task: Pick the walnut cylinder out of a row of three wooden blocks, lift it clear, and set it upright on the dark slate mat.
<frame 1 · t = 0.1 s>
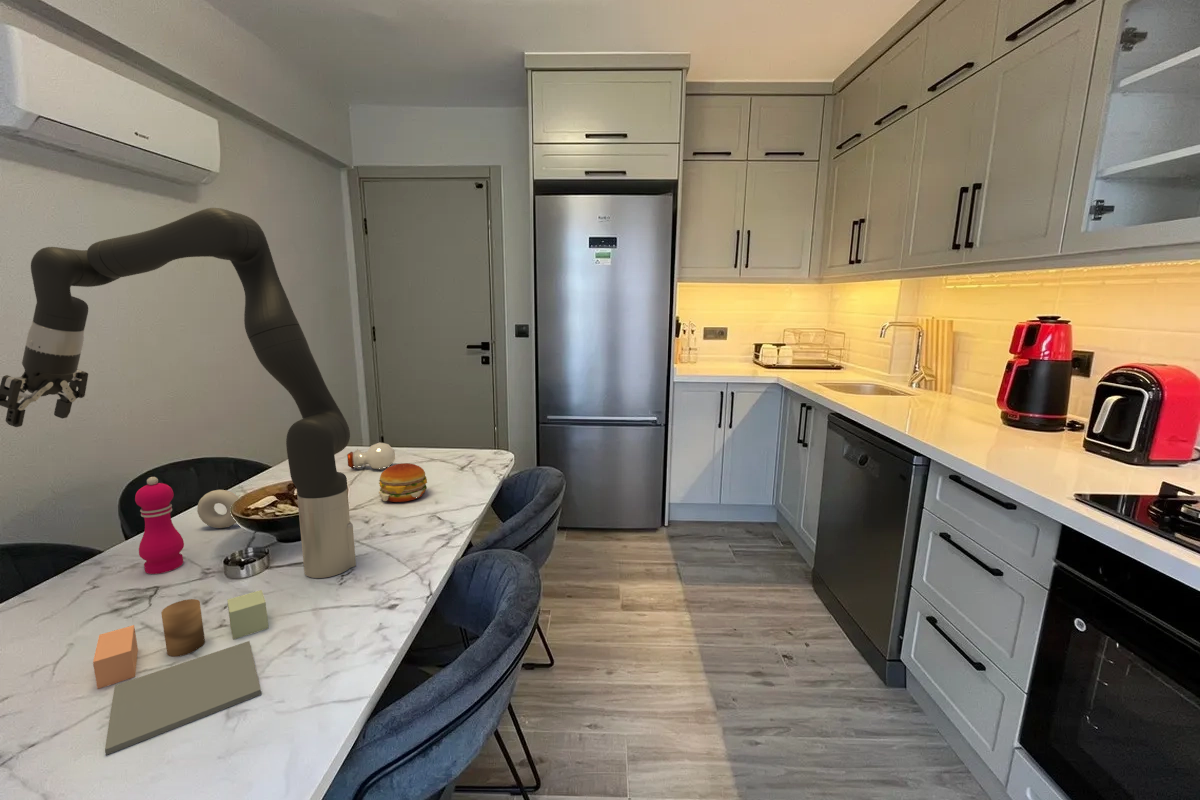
hand: (38, 421, 103), 31 cm above the table, tool tilted 20°, fingers open, 8 cm apart
donut: (222, 528, 127), on the table
pepper mill: (164, 567, 107), on the table
potion bottle: (372, 469, 176), on the table
terracotta brick: (119, 669, 77), on the table
burger: (403, 497, 150), on the table
slate mat: (188, 692, 72), on the table
walnut cylinder: (186, 646, 82), on the table
sage cube: (249, 627, 87), on the table
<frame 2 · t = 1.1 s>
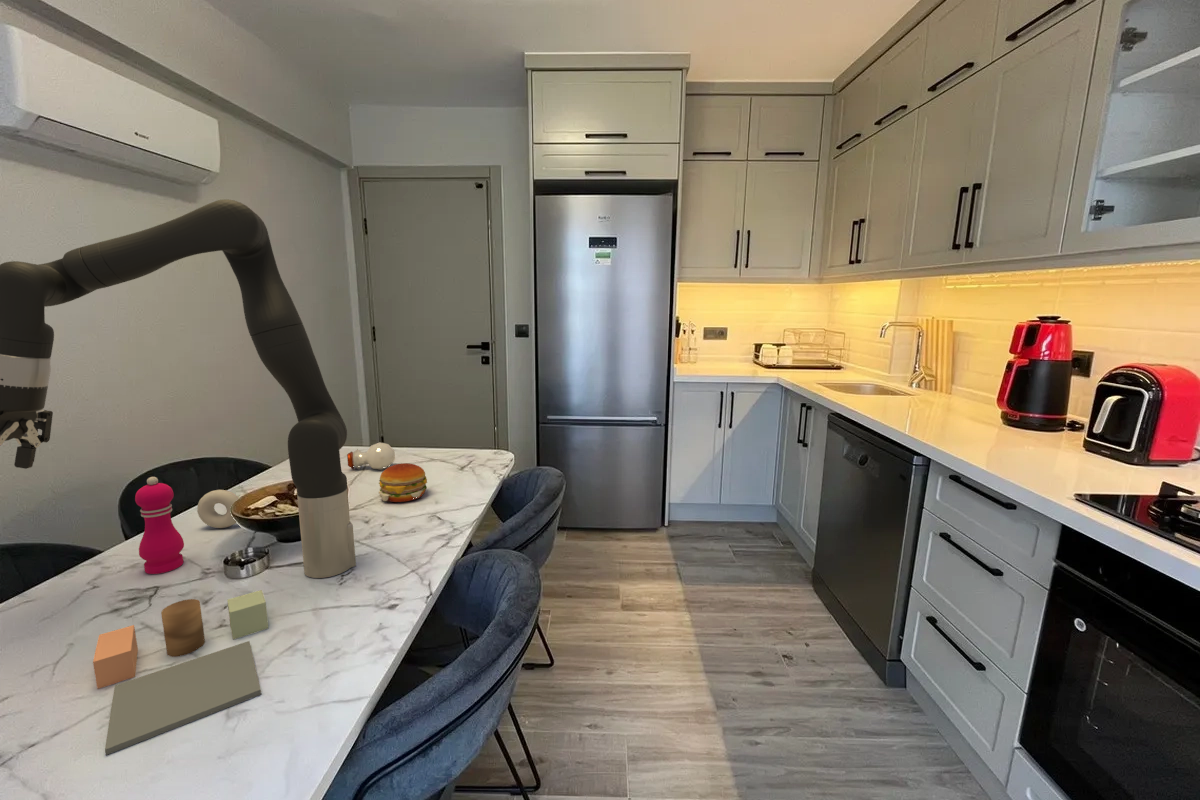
hand: (0, 473, 86), 26 cm above the table, tool pointing down, fingers open, 8 cm apart
nothing on the table moved.
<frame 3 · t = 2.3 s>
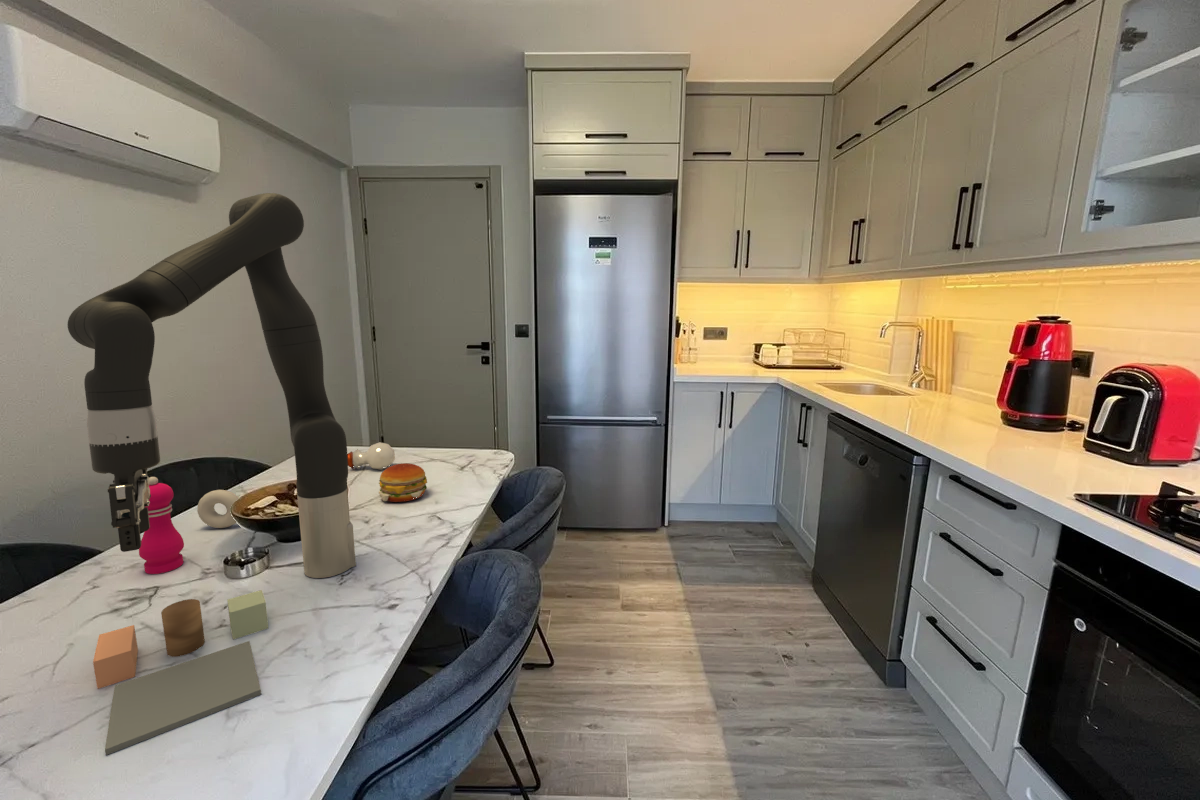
hand: (136, 540, 78), 19 cm above the table, tool pointing down, fingers open, 8 cm apart
nothing on the table moved.
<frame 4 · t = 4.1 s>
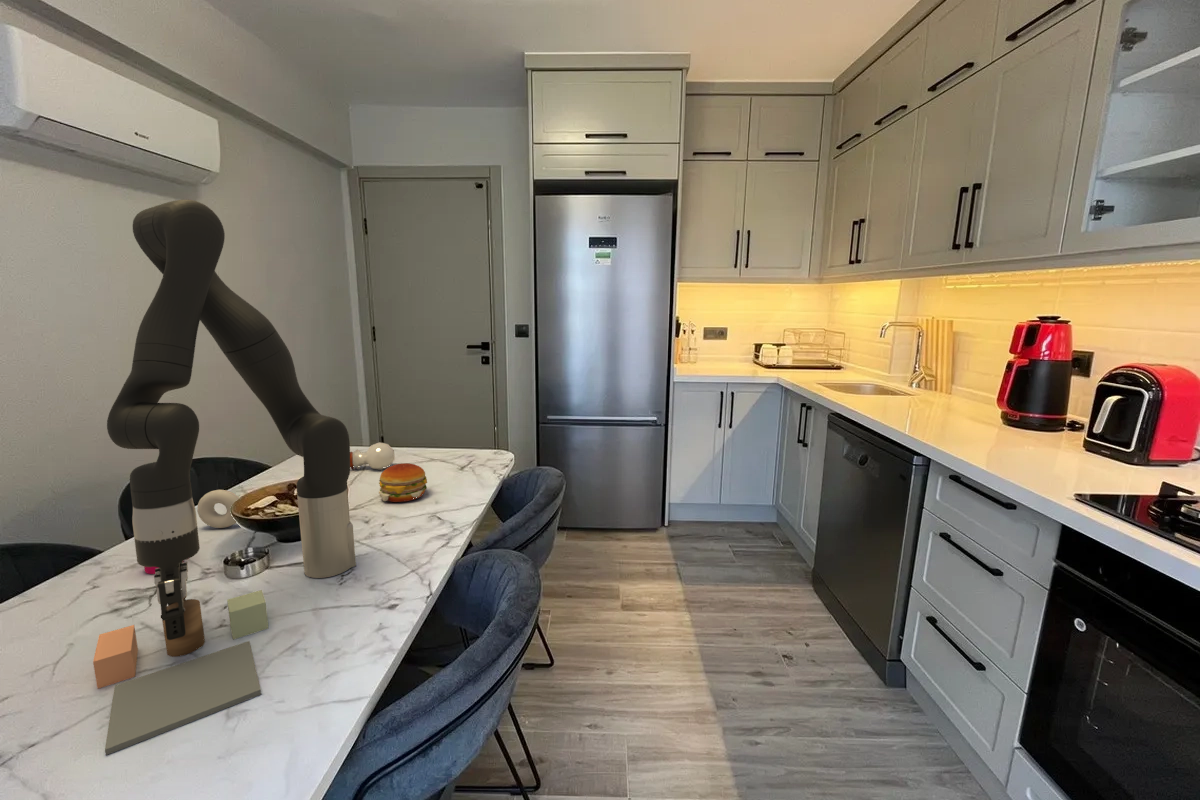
hand: (177, 624, 81), 4 cm above the table, tool pointing down, fingers open, 8 cm apart
nothing on the table moved.
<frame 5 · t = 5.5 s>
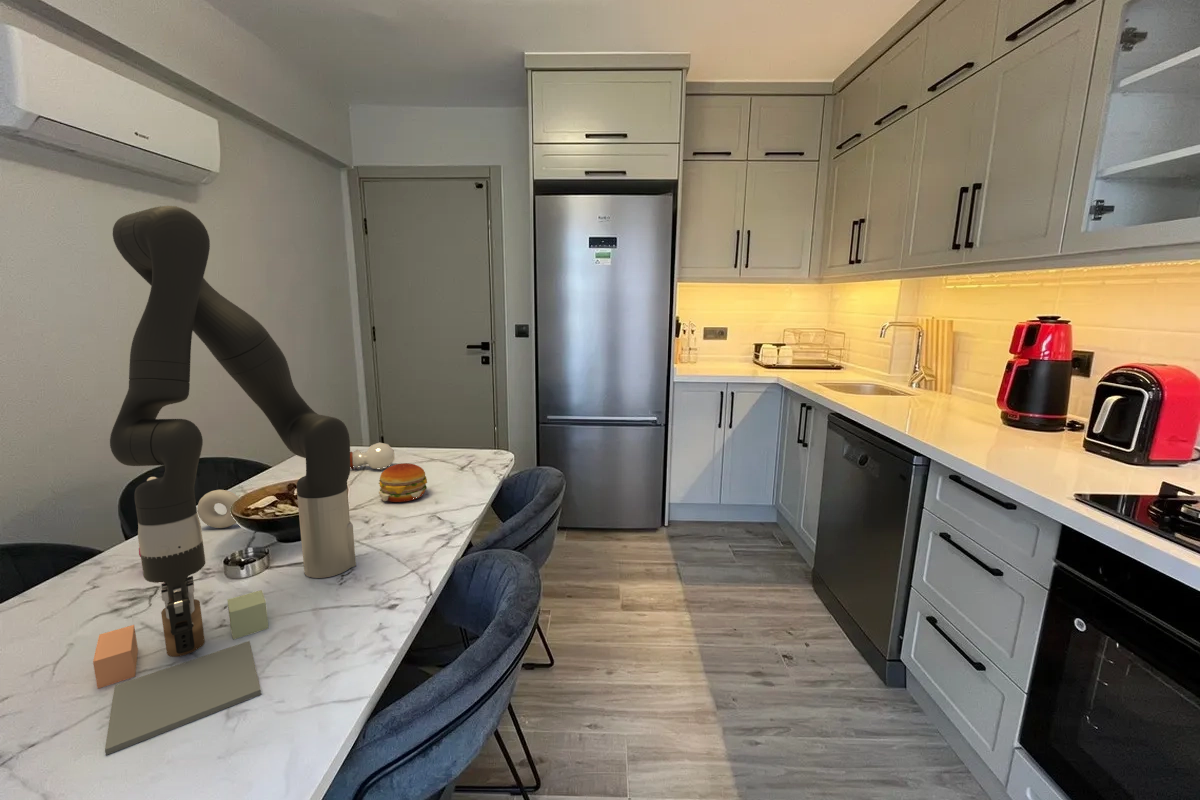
hand: (185, 641, 82), 1 cm above the table, tool pointing down, fingers closed on walnut cylinder, 4 cm apart
walnut cylinder: (186, 646, 82), on the table, touching gripper
everything else where it was.
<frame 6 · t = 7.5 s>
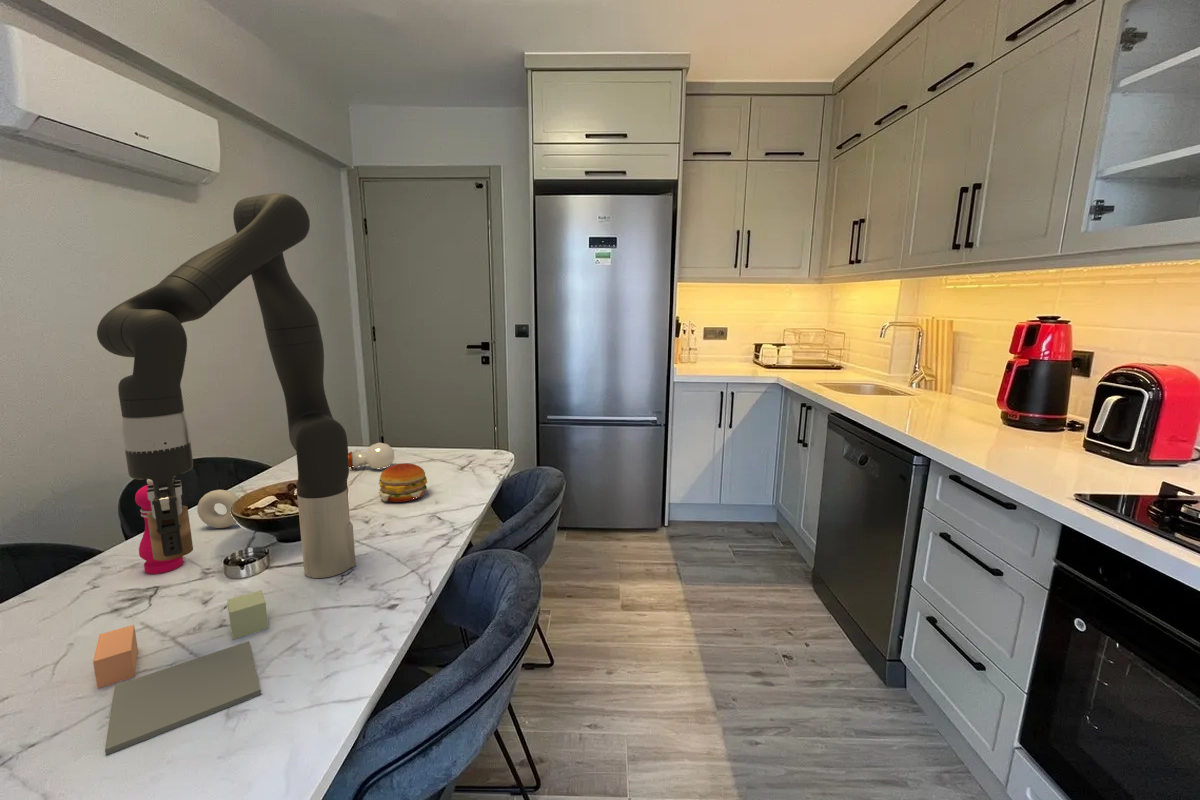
hand: (173, 547, 79), 17 cm above the table, tool pointing down, fingers closed on walnut cylinder, 4 cm apart
walnut cylinder: (173, 553, 79), point 16 cm above the table, touching gripper
everything else where it was.
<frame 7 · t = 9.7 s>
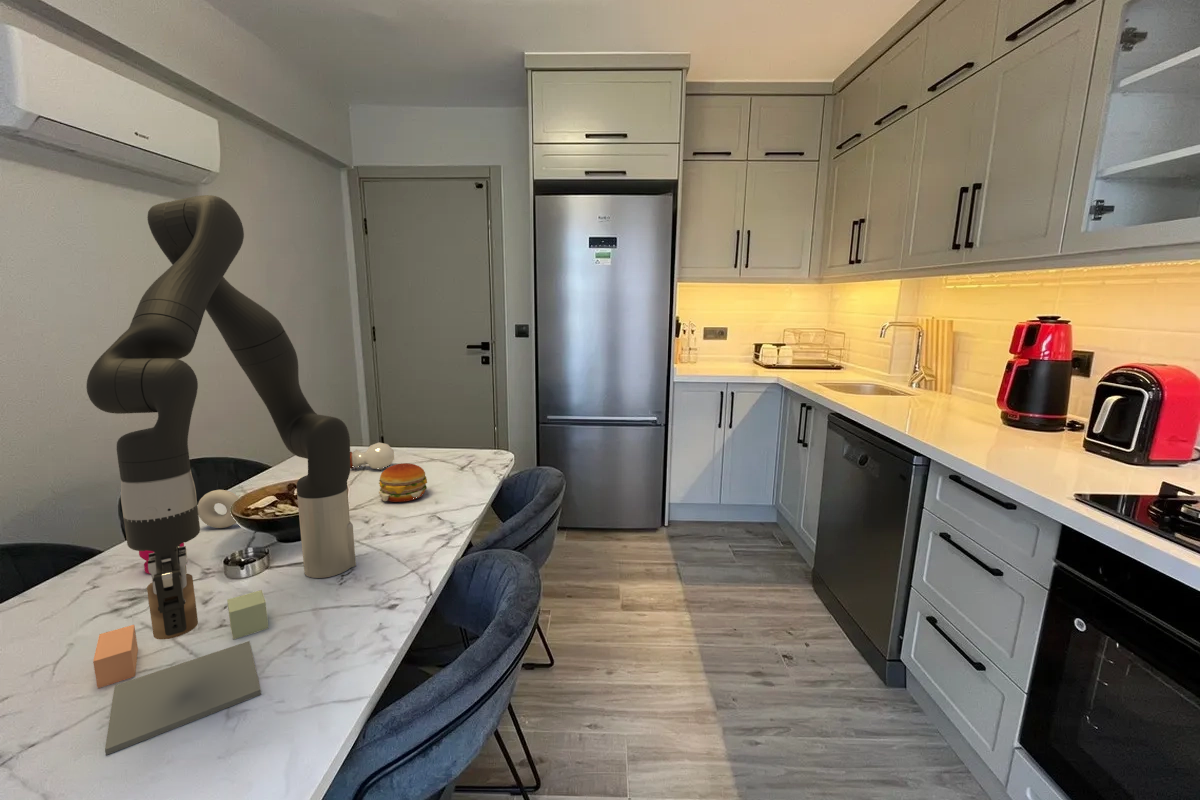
hand: (176, 622, 70), 11 cm above the table, tool pointing down, fingers closed on walnut cylinder, 4 cm apart
walnut cylinder: (176, 628, 70), point 10 cm above the table, touching gripper
everything else where it was.
when the fingers open (3 cm above the table, at t = 11.9 s): walnut cylinder drops 1 cm, resting on slate mat.
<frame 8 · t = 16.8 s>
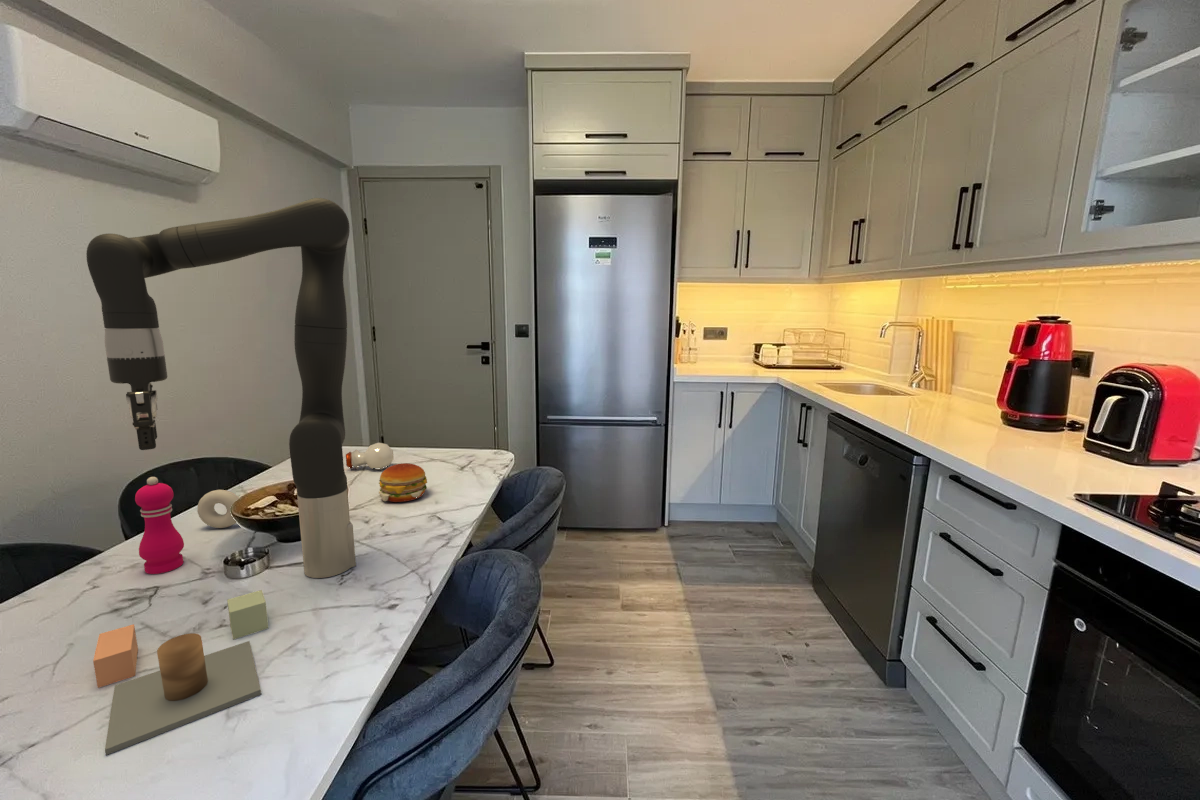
hand: (148, 444, 91), 30 cm above the table, tool pointing down, fingers open, 8 cm apart
walnut cylinder: (186, 687, 72), point 1 cm above the table, touching slate mat
everything else where it was.
at the end: walnut cylinder inside the target area on the slate mat (0.1 cm from its centre), point 0.9 cm above the slate mat's base; walnut cylinder tilted 1°; sage cube moved 0.1 cm from its start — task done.
